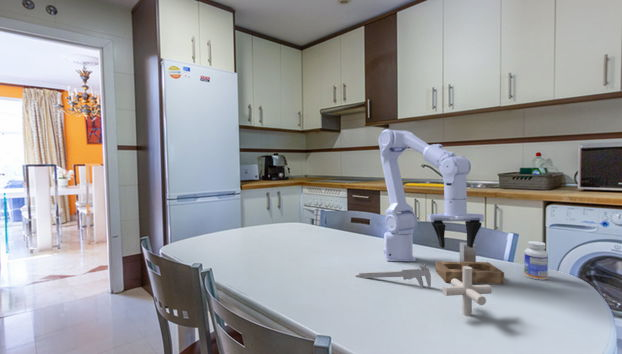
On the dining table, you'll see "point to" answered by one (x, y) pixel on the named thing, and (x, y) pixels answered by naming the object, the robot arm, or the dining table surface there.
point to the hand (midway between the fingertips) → (455, 246)
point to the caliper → (401, 274)
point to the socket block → (480, 272)
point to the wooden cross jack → (467, 291)
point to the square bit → (467, 253)
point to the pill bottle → (536, 261)
